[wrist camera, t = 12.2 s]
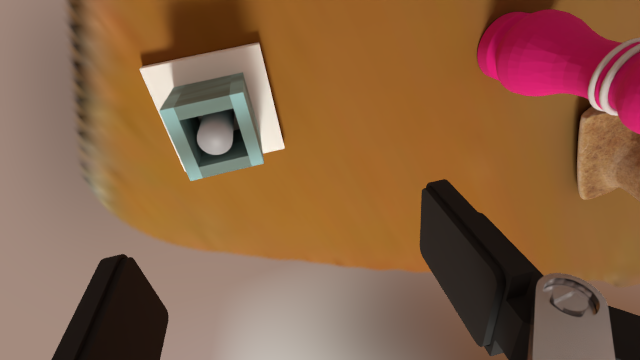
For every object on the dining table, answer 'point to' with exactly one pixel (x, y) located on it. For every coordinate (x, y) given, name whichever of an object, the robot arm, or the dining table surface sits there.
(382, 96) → the dining table surface
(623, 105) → the pepper mill
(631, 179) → the beige hollow piece
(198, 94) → the collar
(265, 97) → the shaft base
